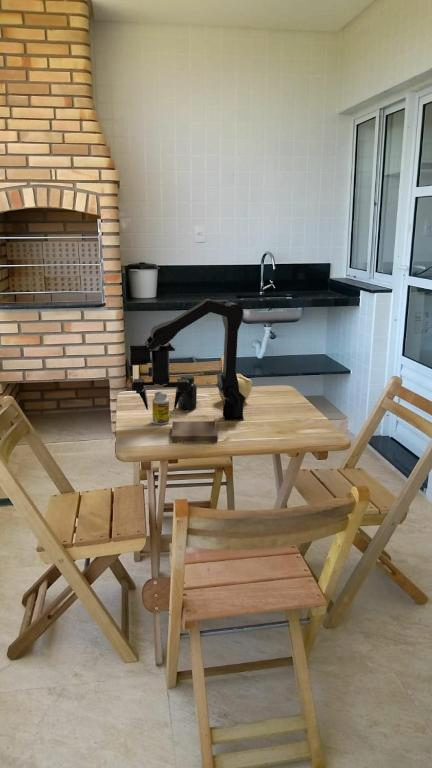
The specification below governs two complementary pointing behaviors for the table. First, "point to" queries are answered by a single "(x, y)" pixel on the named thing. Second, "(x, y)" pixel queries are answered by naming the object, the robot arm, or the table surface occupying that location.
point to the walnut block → (194, 431)
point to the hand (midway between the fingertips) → (161, 409)
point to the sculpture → (242, 387)
